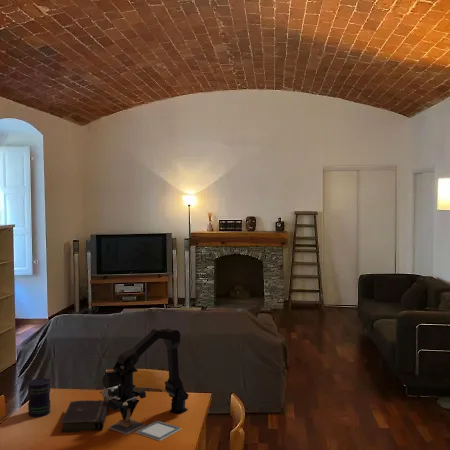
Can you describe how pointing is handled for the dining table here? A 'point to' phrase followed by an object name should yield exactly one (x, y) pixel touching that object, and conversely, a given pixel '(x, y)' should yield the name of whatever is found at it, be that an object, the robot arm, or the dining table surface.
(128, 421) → the stamp
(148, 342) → the robot arm
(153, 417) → the dining table surface
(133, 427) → the ink pad
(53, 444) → the dining table surface
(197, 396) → the dining table surface
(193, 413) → the dining table surface
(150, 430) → the print sheet
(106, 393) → the game die
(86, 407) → the diary
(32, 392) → the storage jar
